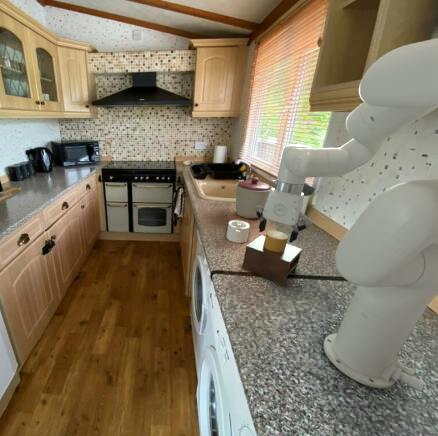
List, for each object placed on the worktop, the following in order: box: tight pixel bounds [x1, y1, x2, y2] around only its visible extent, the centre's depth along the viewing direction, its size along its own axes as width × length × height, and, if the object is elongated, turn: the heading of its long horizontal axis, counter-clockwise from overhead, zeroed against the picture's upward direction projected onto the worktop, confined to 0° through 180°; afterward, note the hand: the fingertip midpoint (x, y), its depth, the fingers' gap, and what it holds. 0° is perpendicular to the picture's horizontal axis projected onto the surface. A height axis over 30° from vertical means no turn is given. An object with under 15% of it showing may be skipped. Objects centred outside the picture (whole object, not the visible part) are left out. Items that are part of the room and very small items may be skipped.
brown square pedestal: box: [241, 234, 303, 287], centre depth 85 cm, size 14×12×9 cm
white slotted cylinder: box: [226, 219, 251, 244], centre depth 112 cm, size 20×9×7 cm, turn 157°
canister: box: [235, 176, 273, 220], centre depth 129 cm, size 18×18×21 cm
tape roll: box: [264, 230, 289, 252], centre depth 82 cm, size 7×7×5 cm
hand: (276, 236), depth 81 cm, fingers open, 9 cm apart
